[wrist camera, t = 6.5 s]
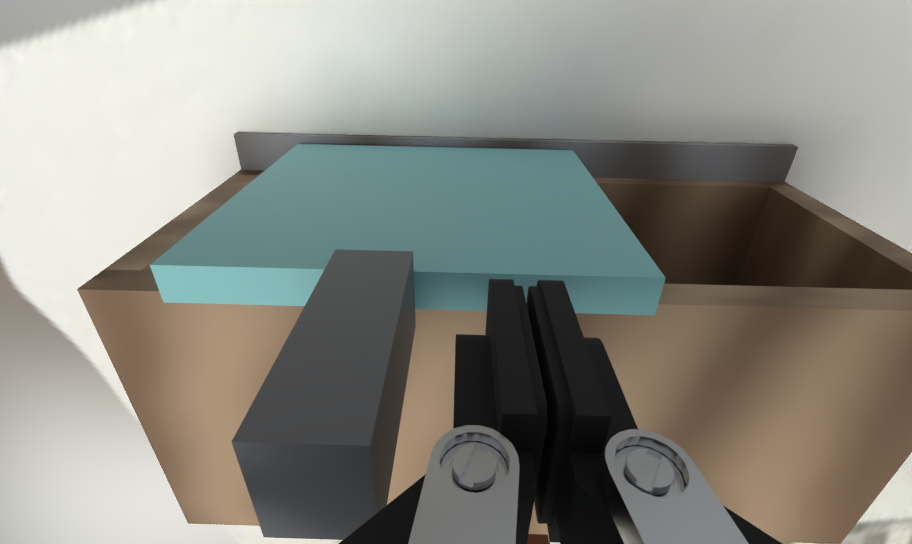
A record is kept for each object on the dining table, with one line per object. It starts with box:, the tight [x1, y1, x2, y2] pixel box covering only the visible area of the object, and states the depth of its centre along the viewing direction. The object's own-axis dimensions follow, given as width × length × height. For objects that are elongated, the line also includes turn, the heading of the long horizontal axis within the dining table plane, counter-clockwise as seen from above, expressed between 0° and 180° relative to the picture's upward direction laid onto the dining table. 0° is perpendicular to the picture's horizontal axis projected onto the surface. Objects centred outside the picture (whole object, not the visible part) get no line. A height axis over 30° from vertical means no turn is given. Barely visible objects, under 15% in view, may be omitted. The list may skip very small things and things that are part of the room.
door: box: [150, 144, 666, 540], centre depth 15 cm, size 14×2×18 cm, turn 89°
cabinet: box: [77, 132, 912, 544], centre depth 21 cm, size 28×14×12 cm, turn 89°
